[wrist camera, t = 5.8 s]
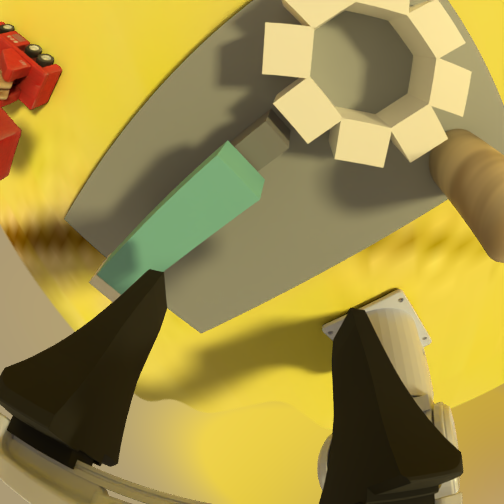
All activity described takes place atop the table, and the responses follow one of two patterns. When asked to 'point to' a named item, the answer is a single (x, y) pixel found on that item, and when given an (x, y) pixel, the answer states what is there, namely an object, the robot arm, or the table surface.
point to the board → (297, 141)
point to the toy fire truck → (21, 85)
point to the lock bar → (182, 220)
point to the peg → (473, 185)
